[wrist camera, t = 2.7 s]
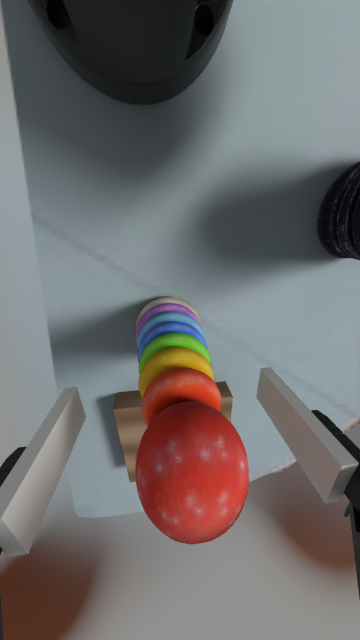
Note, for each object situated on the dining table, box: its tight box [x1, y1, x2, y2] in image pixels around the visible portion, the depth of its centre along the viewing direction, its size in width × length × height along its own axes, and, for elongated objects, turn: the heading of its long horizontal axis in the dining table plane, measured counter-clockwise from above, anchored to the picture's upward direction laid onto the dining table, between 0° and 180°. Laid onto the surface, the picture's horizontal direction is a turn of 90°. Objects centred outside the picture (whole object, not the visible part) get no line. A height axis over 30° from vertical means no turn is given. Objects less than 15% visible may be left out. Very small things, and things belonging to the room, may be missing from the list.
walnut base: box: [113, 382, 233, 482], centre depth 29 cm, size 16×16×3 cm
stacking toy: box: [135, 297, 249, 544], centre depth 15 cm, size 8×8×19 cm
